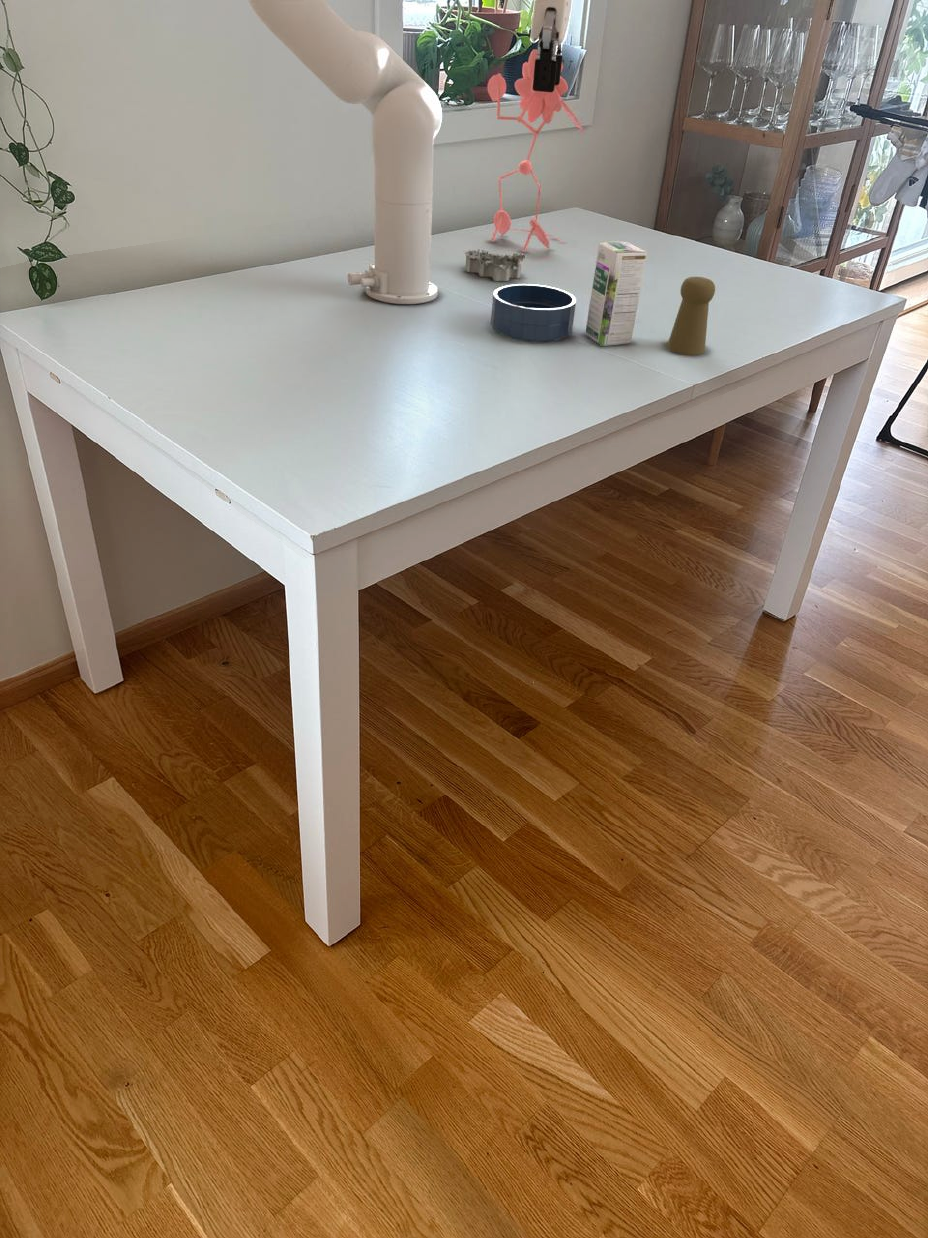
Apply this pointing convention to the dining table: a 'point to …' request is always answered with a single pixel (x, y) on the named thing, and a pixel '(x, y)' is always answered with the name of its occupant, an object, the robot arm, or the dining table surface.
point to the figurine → (535, 106)
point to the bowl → (533, 312)
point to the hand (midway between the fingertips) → (546, 87)
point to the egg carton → (494, 264)
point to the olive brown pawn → (692, 317)
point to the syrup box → (615, 293)
